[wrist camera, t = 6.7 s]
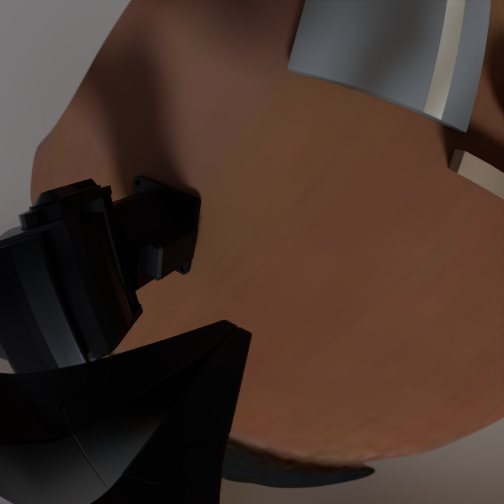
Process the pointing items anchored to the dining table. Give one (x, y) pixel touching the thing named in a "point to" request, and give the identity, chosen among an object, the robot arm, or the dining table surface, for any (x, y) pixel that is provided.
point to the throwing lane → (403, 59)
